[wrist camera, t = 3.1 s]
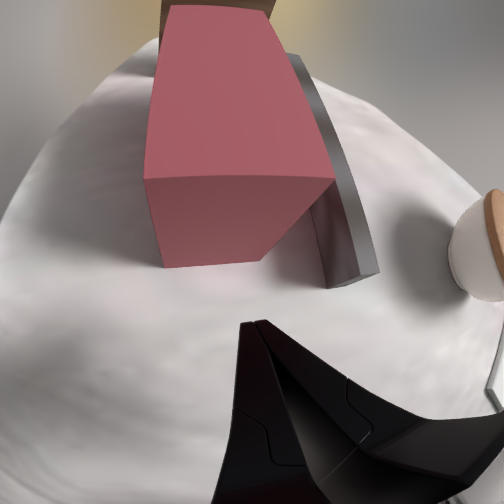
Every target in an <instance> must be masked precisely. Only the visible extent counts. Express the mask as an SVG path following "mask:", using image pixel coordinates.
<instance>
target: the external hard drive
mask: <svg viewBox="0 0 504 504" xmlns="http://www.w3.org/2000/svg"><path fill="white" fill-rule="evenodd" d="M486 390H487V391H488V393H489V395H490V396H491V398H492V400H493V402H494V403H495V405H496V407H497V409H498V410H499V411H500V410H501V409H502V408H503V407H504V328H503V333H502V337H501V341H500V345H499V349H498V353H497V356H496V360H495V363H494V366H493V370H492V373H491V376H490V379H489V382H488V385H487V387H486Z"/></svg>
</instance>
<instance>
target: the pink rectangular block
mask: <svg viewBox="0 0 504 504" xmlns="http://www.w3.org/2000/svg"><path fill="white" fill-rule="evenodd" d="M335 179H336V176H335V173H334V170H333V167H332V164H331V161H330V158H329V155H328V153H327V150H326V147H325V144H324V141H323V139H322V136H321V133H320V131H319V128H318V125H317V123H316V120H315V118H314V115H313V113H312V110H311V108H310V105H309V103H308V101H307V98H306V96H305V94H304V91H303V89H302V87H301V84H300V82H299V80H298V78H297V76H296V73H295V71H294V69H293V67H292V65H291V63H290V61H289V59H288V57H287V55H286V53H285V51H284V49H283V47H282V45H281V43H280V41H279V39H278V37H277V35H276V33H275V31H274V29H273V27H272V26H271V24H270V22H269V20H268V18H267V17H266V15H265V13H264V11H259V10H252V9H245V8H236V7H225V6H210V5H171V7H170V10H169V14H168V18H167V21H166V25H165V29H164V33H163V38H162V42H161V47H160V51H159V56H158V61H157V66H156V72H155V77H154V83H153V89H152V96H151V102H150V110H149V118H148V126H147V136H146V146H145V158H144V174H143V180H144V185H145V190H146V195H147V200H148V204H149V208H150V213H151V217H152V221H153V225H154V230H155V234H156V237H157V241H158V245H159V249H160V253H161V256H162V260H163V264H164V267H165V268H178V267H191V266H204V265H216V264H229V263H241V262H253V261H260V260H261V259H262V258H263V257H264V256H265V255H266V253H267V252H268V251H269V250H270V249H271V248H272V247H273V246H274V245H275V244H276V243H277V242H278V241H279V240H280V238H281V237H282V236H283V235H284V234H285V233H286V232H287V231H288V230H289V229H290V228H291V227H292V226H293V225H294V223H295V222H296V221H297V220H298V219H299V218H300V217H301V216H302V215H303V214H304V213H305V212H306V211H307V209H308V208H309V207H310V206H311V205H312V204H313V203H314V202H315V201H316V200H317V199H318V198H319V196H320V195H321V194H322V193H323V192H324V191H325V190H326V189H327V188H328V187H329V186H330V184H331V183H332V182H333V181H334V180H335Z"/></svg>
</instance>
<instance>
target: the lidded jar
mask: <svg viewBox="0 0 504 504" xmlns="http://www.w3.org/2000/svg"><path fill="white" fill-rule="evenodd" d="M448 262H449V267H450V270H451V273H452V276H453V278H454V280H455V282H456V283H457V285H458V286H459V287H460V288H461V289H463V290H465V291H467V292H468V293H469V294H470V295H471V296H473V297H474V298H476V299H478V300H482V301H486V302H500V301H504V193H503V192H502V191H500V190H498V189H493V190H492V191H490V192H488V193H487V194H486V196H484V197H482V198H481V199H479V200H478V201H476V202H475V203H474V204H473V205H471V206H470V207H469V208H468V209H467V210H466V211H465V212H464V213H463V214H462V215H461V217H460V218H459V220H458V221H457V223H456V225H455V227H454V230H453V234H452V238H451V240H450V242H449V245H448Z"/></svg>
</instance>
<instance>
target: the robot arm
mask: <svg viewBox="0 0 504 504" xmlns="http://www.w3.org/2000/svg"><path fill="white" fill-rule="evenodd" d="M211 504H504V407H503V408H502V409H501V410H500V411H499V412H498V413H496V414H493V415H488V416H481V417H472V418H462V419H447V420H432V419H426V418H423V417H420V416H417V415H415V414H413V413H411V412H408V411H406V410H404V409H402V408H400V407H398V406H396V405H394V404H392V403H390V402H388V401H386V400H384V399H382V398H380V397H378V396H376V395H375V394H373V393H371V392H369V391H368V390H366V389H365V388H363V387H361V386H360V385H358V384H357V383H355V382H354V381H352V380H351V379H349V378H348V379H347V377H346V376H345V375H343V374H342V373H340V372H339V371H337V370H336V369H334V368H333V367H332V366H330V365H329V364H327V363H326V362H324V361H323V360H321V359H320V358H319V357H317V356H316V355H314V354H313V353H312V352H310V351H309V350H307V349H306V348H305V347H303V346H302V345H300V344H299V343H298V342H296V341H295V340H294V339H292V338H291V337H289V336H288V335H287V334H285V333H284V332H283V331H281V330H280V329H279V328H277V327H276V326H274V325H273V324H272V323H270V322H269V321H268V320H265V319H264V320H257V321H254V322H252V321H250V322H243V323H241V324H240V330H239V341H238V352H237V363H236V375H235V386H234V398H233V409H232V419H231V427H230V435H229V439H228V444H227V448H226V452H225V456H224V460H223V463H222V467H221V471H220V474H219V478H218V482H217V485H216V489H215V492H214V495H213V499H212V502H211Z"/></svg>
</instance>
